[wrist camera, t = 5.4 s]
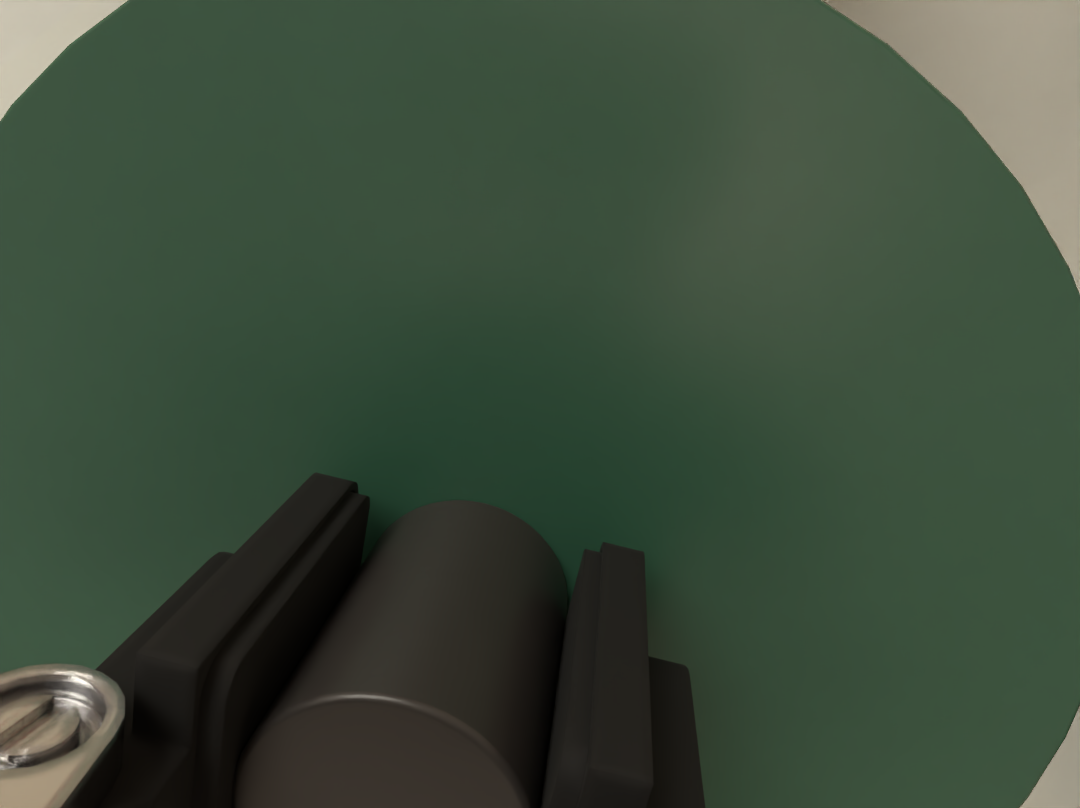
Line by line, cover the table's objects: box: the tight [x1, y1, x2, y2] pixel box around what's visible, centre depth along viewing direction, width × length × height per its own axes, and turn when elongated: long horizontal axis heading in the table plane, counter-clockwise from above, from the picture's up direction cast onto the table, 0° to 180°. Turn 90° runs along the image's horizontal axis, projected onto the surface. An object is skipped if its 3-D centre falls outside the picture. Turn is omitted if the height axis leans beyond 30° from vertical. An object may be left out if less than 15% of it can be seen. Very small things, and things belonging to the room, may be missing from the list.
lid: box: [0, 0, 1080, 808], centre depth 9 cm, size 17×17×5 cm
